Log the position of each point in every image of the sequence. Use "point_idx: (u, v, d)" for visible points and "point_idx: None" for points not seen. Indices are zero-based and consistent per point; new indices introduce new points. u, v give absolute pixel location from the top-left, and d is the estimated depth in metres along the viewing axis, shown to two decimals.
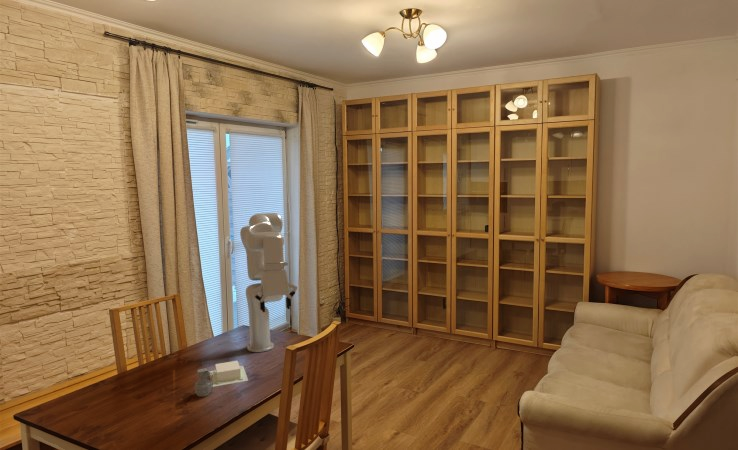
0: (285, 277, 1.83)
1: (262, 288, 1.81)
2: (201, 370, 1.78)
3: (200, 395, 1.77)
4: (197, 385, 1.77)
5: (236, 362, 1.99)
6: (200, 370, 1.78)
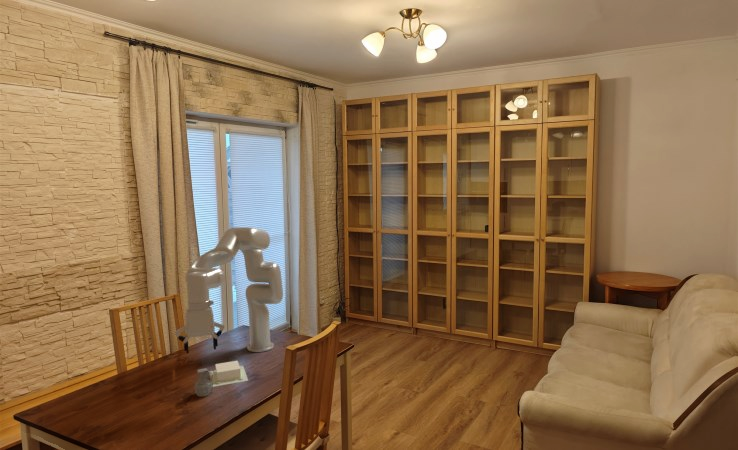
0: (210, 317, 1.75)
1: (185, 328, 1.73)
2: (201, 370, 1.78)
3: (200, 395, 1.77)
4: (197, 385, 1.77)
5: (236, 362, 1.99)
6: (200, 370, 1.78)
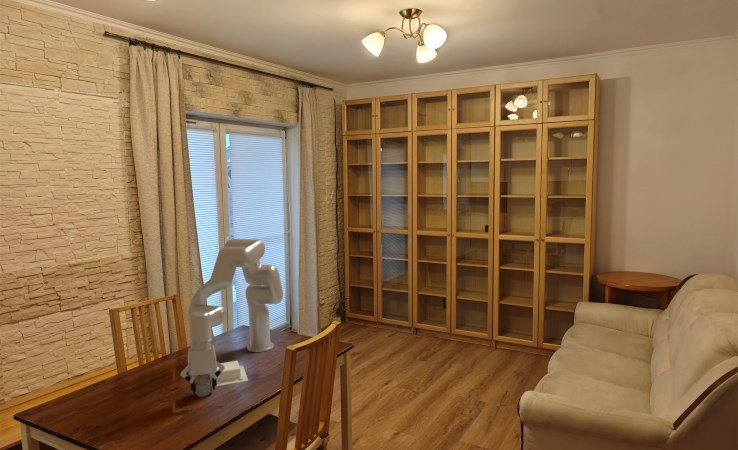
0: (212, 355, 1.77)
1: (188, 367, 1.75)
2: None
3: (200, 395, 1.77)
4: (197, 385, 1.77)
5: (236, 362, 1.99)
6: None
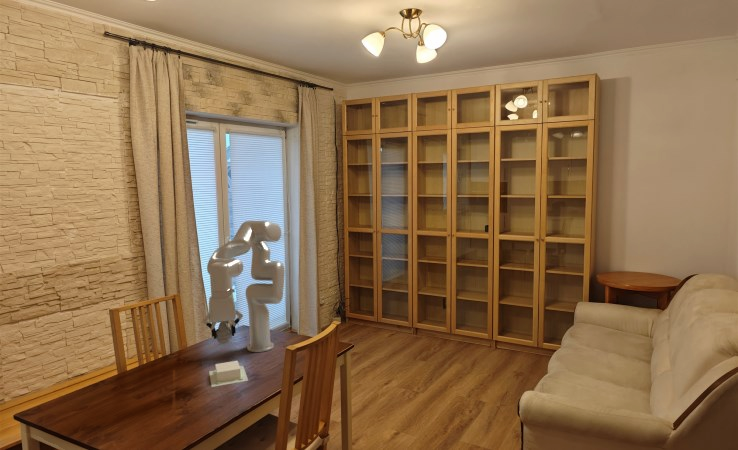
0: (232, 304, 1.89)
1: (209, 315, 1.88)
2: None
3: (221, 340, 1.89)
4: (218, 331, 1.89)
5: (236, 362, 1.99)
6: None
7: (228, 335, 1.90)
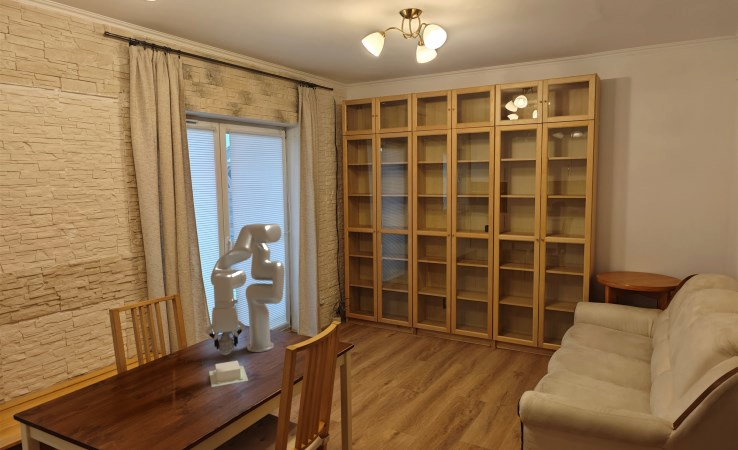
0: (235, 314, 1.92)
1: (212, 325, 1.90)
2: None
3: (223, 351, 1.91)
4: (220, 341, 1.91)
5: (236, 362, 1.99)
6: None
7: (231, 345, 1.92)
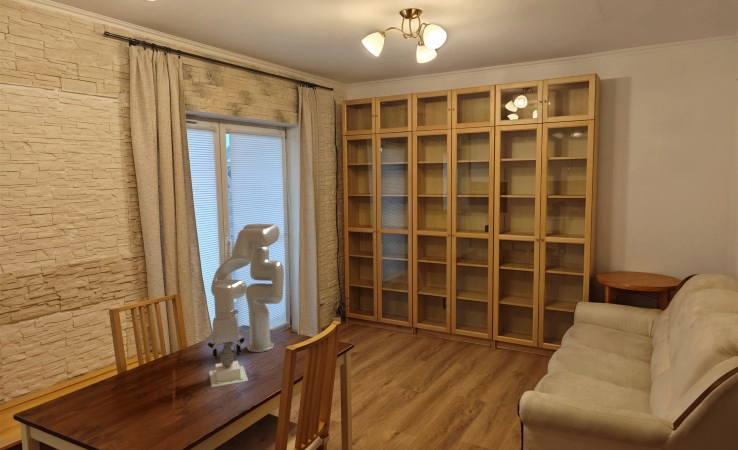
0: (235, 325, 1.92)
1: (213, 335, 1.90)
2: None
3: (224, 363, 1.92)
4: (222, 354, 1.92)
5: (236, 362, 1.99)
6: None
7: (232, 358, 1.93)
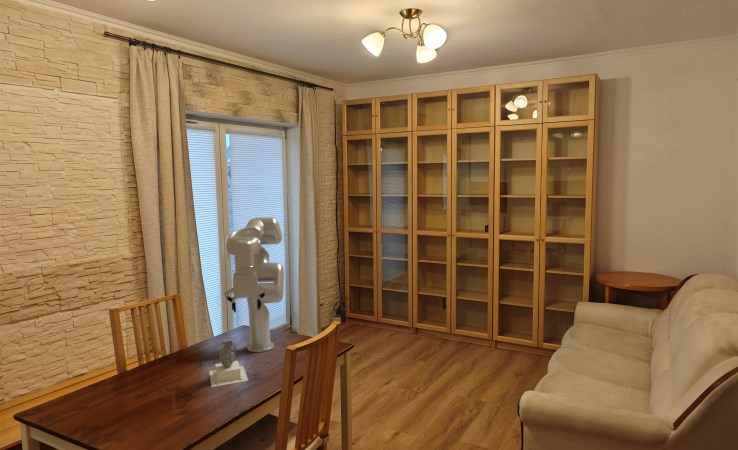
0: (255, 280, 1.95)
1: (233, 290, 1.94)
2: (225, 340, 1.93)
3: (224, 363, 1.92)
4: (222, 354, 1.92)
5: (236, 362, 1.99)
6: (224, 340, 1.93)
7: (232, 358, 1.93)
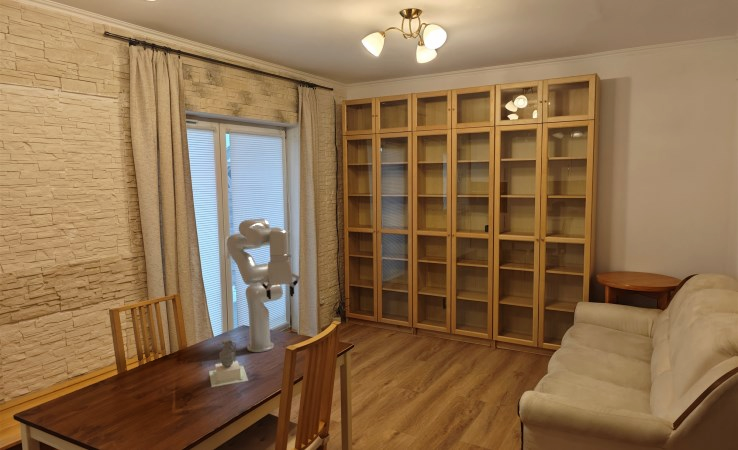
0: (289, 268, 2.04)
1: (268, 277, 2.02)
2: (225, 340, 1.93)
3: (224, 363, 1.92)
4: (222, 354, 1.92)
5: (236, 362, 1.99)
6: (224, 340, 1.93)
7: (232, 358, 1.93)
